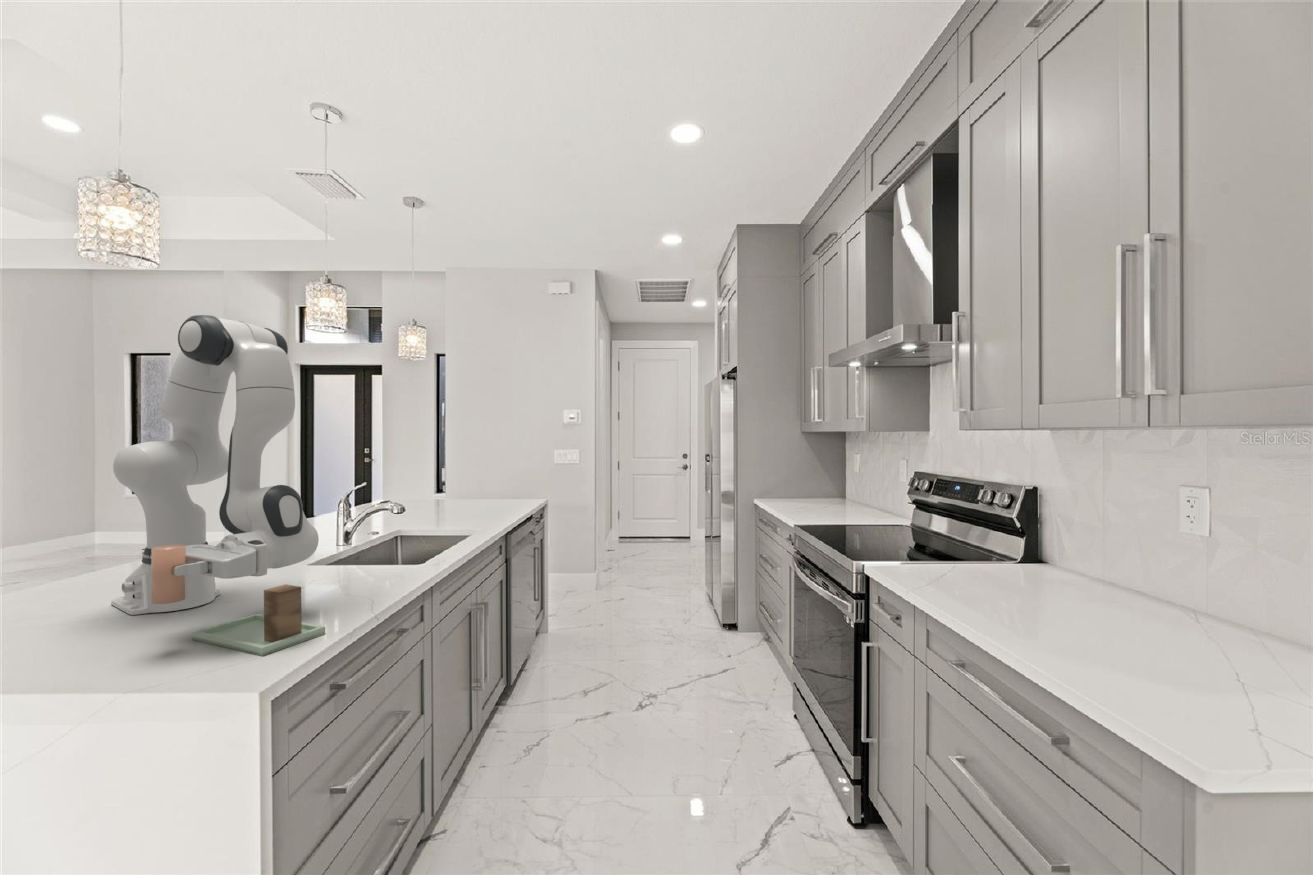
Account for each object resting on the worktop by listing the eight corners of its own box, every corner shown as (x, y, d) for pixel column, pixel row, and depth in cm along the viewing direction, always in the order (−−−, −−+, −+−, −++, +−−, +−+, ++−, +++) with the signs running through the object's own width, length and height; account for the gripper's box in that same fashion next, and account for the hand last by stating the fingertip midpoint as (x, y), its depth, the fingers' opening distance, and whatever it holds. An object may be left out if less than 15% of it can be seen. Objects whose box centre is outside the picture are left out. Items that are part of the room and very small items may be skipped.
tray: (192, 639, 120) (192, 632, 120) (257, 620, 132) (257, 613, 132) (262, 656, 112) (262, 648, 112) (325, 633, 124) (325, 626, 124)
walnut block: (264, 640, 118) (263, 590, 118) (286, 633, 122) (285, 584, 122) (279, 644, 116) (279, 592, 116) (301, 636, 120) (301, 586, 120)
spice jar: (145, 601, 112) (145, 548, 112) (175, 594, 117) (175, 543, 117) (161, 605, 110) (161, 551, 110) (191, 598, 115) (191, 546, 115)
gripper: (208, 534, 129) (131, 546, 117) (272, 544, 121) (197, 558, 109) (207, 564, 129) (131, 578, 117) (271, 576, 121) (196, 593, 109)
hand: (163, 569), depth 113 cm, fingers closed on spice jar, 5 cm apart
